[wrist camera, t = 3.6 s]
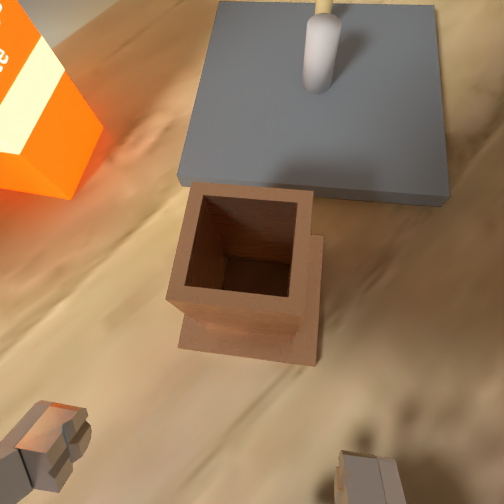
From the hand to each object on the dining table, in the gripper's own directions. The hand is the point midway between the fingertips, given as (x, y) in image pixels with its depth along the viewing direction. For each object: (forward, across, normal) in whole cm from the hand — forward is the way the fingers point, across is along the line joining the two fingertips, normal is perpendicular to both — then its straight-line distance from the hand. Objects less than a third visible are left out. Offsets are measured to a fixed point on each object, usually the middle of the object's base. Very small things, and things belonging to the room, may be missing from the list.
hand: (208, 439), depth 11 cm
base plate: (+26, -3, -10) cm, 28 cm away
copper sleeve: (+13, 0, +2) cm, 14 cm away
